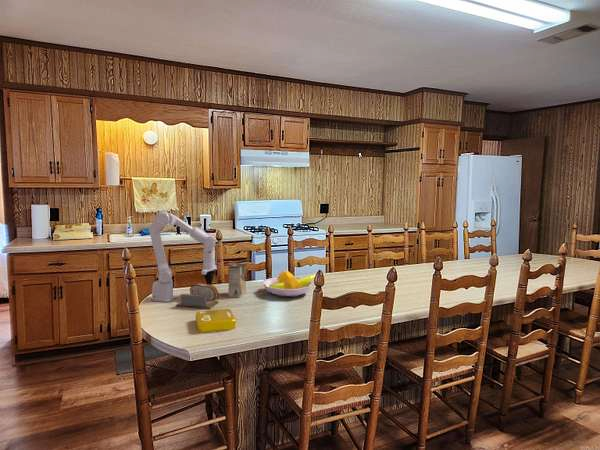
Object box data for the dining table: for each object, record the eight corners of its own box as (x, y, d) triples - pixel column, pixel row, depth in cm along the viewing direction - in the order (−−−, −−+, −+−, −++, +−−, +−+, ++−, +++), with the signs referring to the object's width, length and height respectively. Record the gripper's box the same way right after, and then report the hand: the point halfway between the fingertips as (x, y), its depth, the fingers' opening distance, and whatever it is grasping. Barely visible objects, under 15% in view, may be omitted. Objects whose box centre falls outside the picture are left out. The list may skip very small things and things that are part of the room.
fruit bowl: (255, 297, 205) (256, 276, 203) (273, 284, 231) (273, 265, 229) (308, 303, 197) (309, 281, 196) (320, 289, 223) (321, 269, 222)
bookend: (181, 307, 188) (181, 294, 187) (182, 306, 189) (182, 293, 188) (205, 309, 185) (205, 296, 185) (206, 308, 187) (206, 295, 186)
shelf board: (176, 306, 188) (176, 304, 188) (185, 300, 198) (185, 298, 198) (210, 309, 185) (210, 307, 185) (218, 302, 195) (218, 301, 195)
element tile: (236, 330, 162) (236, 319, 162) (198, 334, 157) (198, 322, 157) (230, 317, 176) (230, 307, 176) (195, 321, 171) (195, 310, 171)
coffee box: (234, 292, 214) (234, 262, 212) (245, 293, 212) (246, 263, 211) (228, 297, 205) (228, 266, 203) (239, 298, 204) (240, 267, 202)
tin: (218, 301, 197) (218, 285, 196) (215, 303, 194) (215, 286, 193) (192, 297, 202) (192, 281, 201) (188, 299, 199) (188, 283, 198)
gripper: (210, 262, 195) (211, 289, 196) (221, 257, 209) (221, 282, 211) (197, 261, 196) (197, 288, 198) (209, 256, 210) (209, 281, 212)
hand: (209, 285), depth 204 cm, fingers closed
